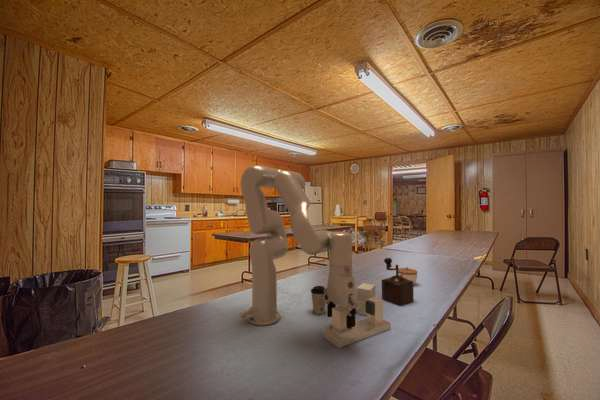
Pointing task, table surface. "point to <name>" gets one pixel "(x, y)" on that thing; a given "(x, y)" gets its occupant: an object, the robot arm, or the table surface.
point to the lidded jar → (408, 274)
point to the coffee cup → (318, 299)
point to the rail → (360, 326)
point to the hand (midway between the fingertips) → (340, 321)
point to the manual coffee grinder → (396, 287)
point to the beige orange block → (339, 319)
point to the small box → (364, 296)
